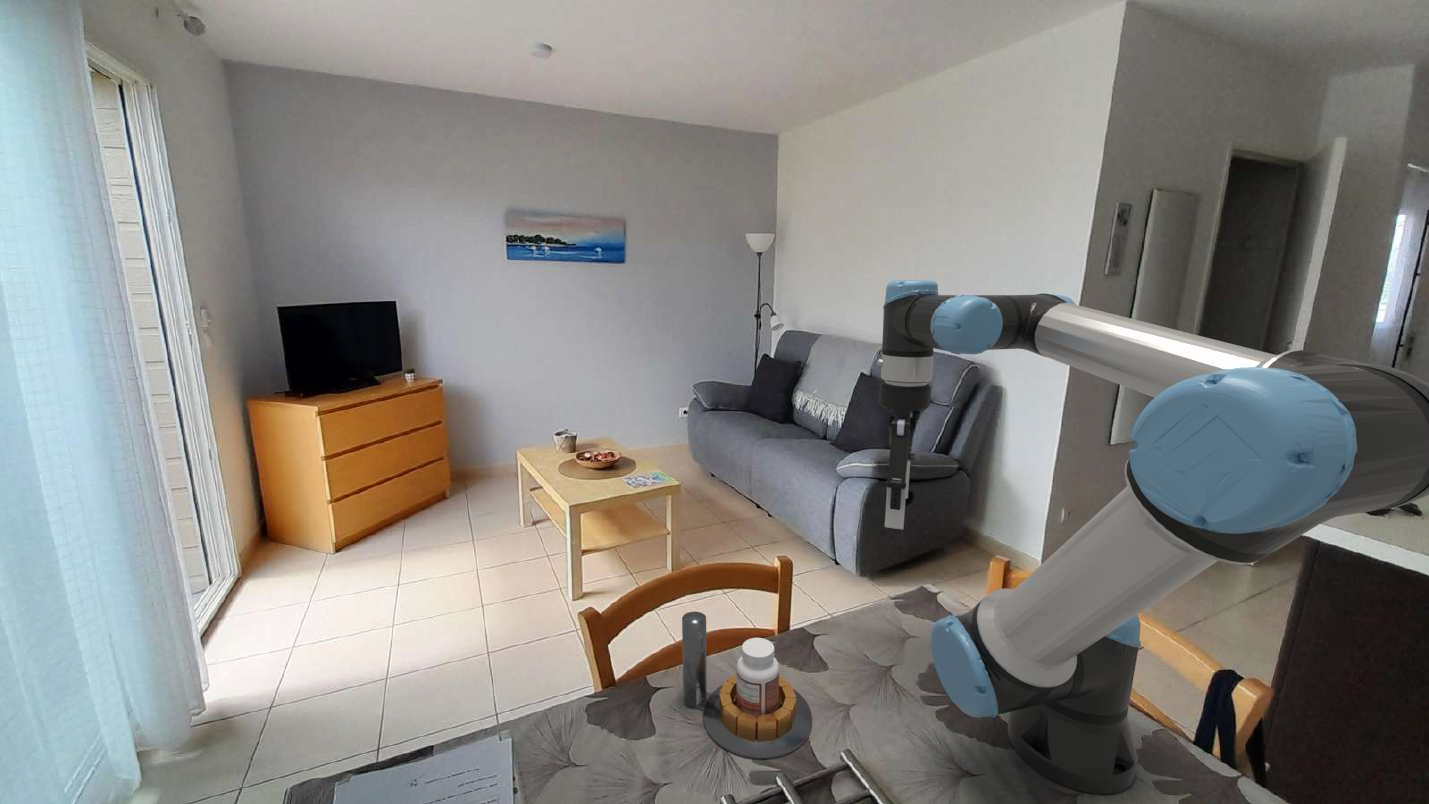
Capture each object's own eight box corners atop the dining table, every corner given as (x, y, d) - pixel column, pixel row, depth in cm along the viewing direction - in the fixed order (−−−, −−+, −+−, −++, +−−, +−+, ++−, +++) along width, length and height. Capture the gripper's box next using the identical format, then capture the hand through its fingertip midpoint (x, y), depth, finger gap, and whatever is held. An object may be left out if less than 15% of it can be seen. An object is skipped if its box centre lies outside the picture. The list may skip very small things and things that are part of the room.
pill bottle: (771, 696, 91) (772, 631, 89) (784, 725, 85) (785, 656, 83) (731, 702, 90) (732, 637, 88) (742, 732, 84) (743, 662, 82)
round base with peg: (821, 694, 92) (824, 613, 90) (798, 773, 78) (801, 679, 75) (703, 666, 99) (702, 590, 96) (662, 733, 85) (660, 646, 82)
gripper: (886, 369, 104) (880, 483, 109) (872, 394, 81) (864, 538, 86) (931, 371, 102) (923, 488, 106) (930, 398, 79) (919, 546, 83)
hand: (896, 511), depth 96 cm, fingers open, 13 cm apart
